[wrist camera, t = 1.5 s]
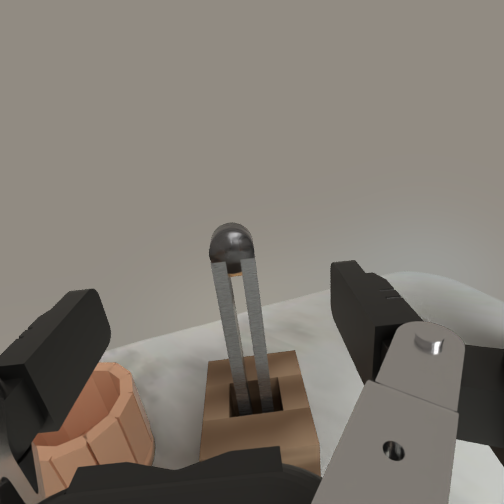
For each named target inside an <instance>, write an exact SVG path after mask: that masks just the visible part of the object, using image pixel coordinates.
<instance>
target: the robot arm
mask: <svg viewBox="0 0 504 504" xmlns="http://www.w3.org/2000/svg"><path fill="white" fill-rule="evenodd" d="M330 272H331V310H332V315H333V319H334V321H335V323H336V326H337V328H338V330H339V332H340V334H341V336H342V339H343V341H344V343H345V345H346V347H347V349H348V351H349V354H350V356H351V358H352V360H353V362H354V364H355V366H356V369H357V371H358V373H359V375H360V377H361V379H362V382H363V384H364V388H363V390H362V392H361V394H360V396H359V399H358V401H357V403H356V405H355V407H354V410H353V412H352V414H351V416H350V419H349V421H348V423H347V425H346V427H345V430H344V432H343V434H342V436H341V438H340V441H339V443H338V445H337V447H336V450H335V452H334V454H333V456H332V458H331V461H330V463H329V465H328V467H327V469H326V472H325V474H324V476H323V478H322V477H320V476H319V475H317V474H315V473H312V472H310V471H308V470H306V469H303V468H300V467H297V466H294V465H290V464H284V463H282V460H281V451H280V446H272V447H262V448H253V449H244V450H234V451H228V452H226V453H223V454H220V455H218V456H215V457H212V458H209V459H207V460H204V461H201V462H198V463H196V464H193V465H190V466H188V467H185V468H182V469H179V470H169V469H164V468H158V467H153V466H147V465H142V464H136V463H131V462H121V463H111V464H102V465H92V466H83V467H78V468H77V470H76V472H75V474H74V476H73V478H72V481H71V483H70V485H69V487H68V488H66V489H64V490H62V491H60V492H58V493H56V494H53V495H51V496H49V497H48V498H46V496H45V490H44V484H43V478H42V473H41V467H40V461H39V455H38V450H37V447H36V445H35V443H34V441H33V440H34V438H35V437H36V435H37V434H38V433H46V432H55V431H59V430H60V428H61V426H62V424H63V423H64V421H65V419H66V418H67V416H68V414H69V412H70V411H71V409H72V407H73V405H74V404H75V402H76V400H77V399H78V397H79V395H80V393H81V392H82V390H83V388H84V386H85V385H86V383H87V381H88V380H89V378H90V376H91V374H92V373H93V371H94V369H95V367H96V366H97V364H98V362H99V361H100V359H101V357H102V355H103V354H104V352H105V350H106V348H107V347H108V345H109V342H110V338H111V330H110V325H109V322H108V320H107V317H106V314H105V311H104V308H103V305H102V303H101V299H100V297H99V294H98V292H97V291H96V290H95V289H85V290H76V291H69V292H68V293H67V294H66V295H65V296H64V297H63V298H62V299H61V300H60V301H59V302H58V303H57V304H56V305H55V306H54V307H53V308H52V309H51V310H49V311H48V312H46V313H44V314H43V315H41V316H40V317H38V318H37V319H36V320H35V321H34V322H33V323H32V324H31V325H30V326H29V327H28V330H25V331H24V332H23V333H22V334H21V335H20V336H19V339H16V340H15V341H14V342H13V343H12V344H11V345H10V346H9V347H8V348H7V349H6V350H5V351H4V352H3V353H2V354H1V355H0V504H448V501H449V493H450V484H451V476H452V468H453V460H454V451H455V443H456V439H458V440H463V441H468V442H473V443H479V444H484V445H489V446H490V448H491V449H492V451H493V452H494V453H495V455H496V456H497V458H498V459H499V461H500V462H501V464H502V465H503V466H504V349H497V348H488V347H479V346H471V345H465V344H464V342H463V341H462V339H461V338H460V337H459V336H458V335H457V334H456V333H454V332H453V331H451V330H450V329H448V328H446V327H443V326H441V325H438V324H434V323H430V322H424V321H423V320H422V319H421V318H420V317H419V316H418V314H417V313H416V312H415V311H414V310H413V309H412V308H411V307H410V306H409V304H408V303H407V302H406V301H405V300H404V299H403V298H401V296H400V295H399V293H398V292H397V291H396V290H394V288H393V287H392V286H391V285H390V283H389V282H388V281H387V280H386V279H384V278H382V277H380V276H378V275H376V274H374V273H365V272H364V271H363V269H362V268H361V267H360V266H359V264H357V262H356V261H355V260H351V261H342V262H333V263H332V264H331V271H330Z"/></svg>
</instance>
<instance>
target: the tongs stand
mask: <svg viewBox="0 0 504 504" xmlns="http://www.w3.org/2000/svg"><path fill="white" fill-rule="evenodd" d="M267 359H268V367H269V375H270V383H271V391H272V399H273V407H274V412H269V413H263V412H262V405H261V399H260V392H259V385H258V378H257V371H256V364H255V357H254V356H247V357H244V362H245V368H246V374H247V380H248V386H249V392H250V398H251V404H252V410H253V415H246V416H240V414H239V409H238V404H237V399H236V393H235V388H234V383H233V378H232V372H231V367H230V362H229V359H224V360H217V361H209V362H208V372H207V383H206V393H205V404H204V414H203V424H202V435H201V445H200V456H199V462H201V461H204V460H207V459H209V458H212V457H215V456H218V455H220V454H223V453H226V452H228V451H234V450H244V449H253V448H262V447H272V446H280V451H281V460H282V463H284V464H290V465H294V466H297V467H300V468H303V469H306V470H308V471H310V472H312V473H315V474H317V475H319V476H320V477H321V471H320V445H319V441H318V437H317V433H316V429H315V425H314V422H313V418H312V414H311V410H310V406H309V402H308V398H307V395H306V391H305V387H304V383H303V379H302V375H301V372H300V368H299V364H298V360H297V356H296V352H295V350H294V351H286V352H278V353H271V354H267Z"/></svg>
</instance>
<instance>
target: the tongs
mask: <svg viewBox="0 0 504 504" xmlns="http://www.w3.org/2000/svg"><path fill="white" fill-rule="evenodd" d="M209 257H210V260H211V268H212V273H213V278H214V283H215V288H216V293H217V299H218V304H219V310H220V315H221V320H222V325H223V331H224V336H225V341H226V346H227V351H228V357H229V362H230V367H231V372H232V378H233V383H234V388H235V393H236V399H237V404H238V409H239V414H240V416H246V415H253V410H252V404H251V398H250V392H249V386H248V380H247V374H246V368H245V362H244V356H243V350H242V343H241V337H240V331H239V325H238V319H237V313H236V307H235V301H234V295H233V289H232V283H231V277H233V276H241V275H243V282H244V289H245V296H246V302H247V309H248V316H249V323H250V330H251V337H252V344H253V351H254V357H255V364H256V371H257V378H258V385H259V392H260V399H261V405H262V412H263V413H269V412H274V407H273V399H272V391H271V383H270V375H269V367H268V359H267V351H266V343H265V335H264V327H263V318H262V310H261V303H260V294H259V287H258V279H257V271H256V262H255V255H254V247H253V241H252V236H251V234H250V232H249V231H248V229H247V228H245V227H244V226H242V225H240V224H237V223H226V224H223V225H221V226H219V227H218V228H217V229H216V230H215V231H214V233H213V235H212V238H211V244H210V249H209Z"/></svg>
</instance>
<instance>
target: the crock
mask: <svg viewBox="0 0 504 504" xmlns="http://www.w3.org/2000/svg"><path fill="white" fill-rule="evenodd" d="M33 441H34V443H35V445H36V447H37V450H38V455H39V461H40V467H41V473H42V478H43V484H44V490H45V496H46V498H48V497H49V496H51V495H53V494H56V493H58V492H60V491H62V490H64V489H66V488H68V487H69V485H70V483H71V481H72V478H73V476H74V474H75V472H76V470H77V468H78V467H83V466H92V465H102V464H111V463H121V462H131V463H136V464H142V465H147V466H152V463H153V459H154V455H155V441H154V437H153V435H152V432H151V429H150V423H149V420H148V417H147V414H146V412H145V409H144V406H143V404H142V401H141V398H140V396H139V393H138V390H137V388H136V385H135V382H134V380H133V377H132V374H131V372H130V371H128V370H127V369H125V368H124V367H122V366H121V365H119V364H118V363H98V364H97V366H96V367H95V369H94V371H93V373H92V374H91V376H90V378H89V380H88V381H87V383H86V385H85V386H84V388H83V390H82V392H81V393H80V395H79V397H78V399H77V400H76V402H75V404H74V405H73V407H72V409H71V411H70V412H69V414H68V416H67V418H66V419H65V421H64V423H63V424H62V426H61V428H60V430H59V431H55V432H46V433H38V434H37V435H36V437H35V438H34V440H33Z"/></svg>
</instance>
